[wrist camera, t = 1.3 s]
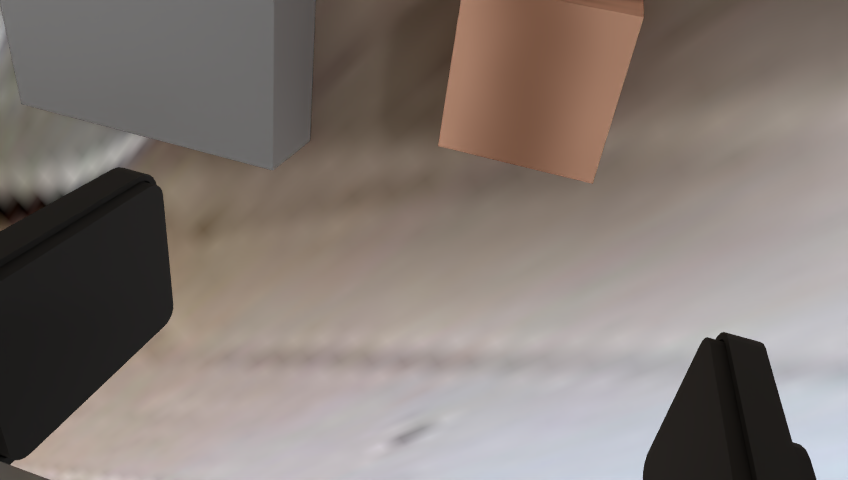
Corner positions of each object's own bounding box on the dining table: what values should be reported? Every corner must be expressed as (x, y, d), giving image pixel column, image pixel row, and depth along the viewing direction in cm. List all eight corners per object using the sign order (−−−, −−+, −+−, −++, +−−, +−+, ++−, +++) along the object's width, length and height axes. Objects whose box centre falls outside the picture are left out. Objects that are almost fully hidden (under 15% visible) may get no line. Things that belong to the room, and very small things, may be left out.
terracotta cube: (642, -11, 25) (643, 17, 20) (600, 129, 28) (592, 183, 23) (497, -38, 26) (463, -18, 21) (472, 100, 29) (437, 145, 24)
